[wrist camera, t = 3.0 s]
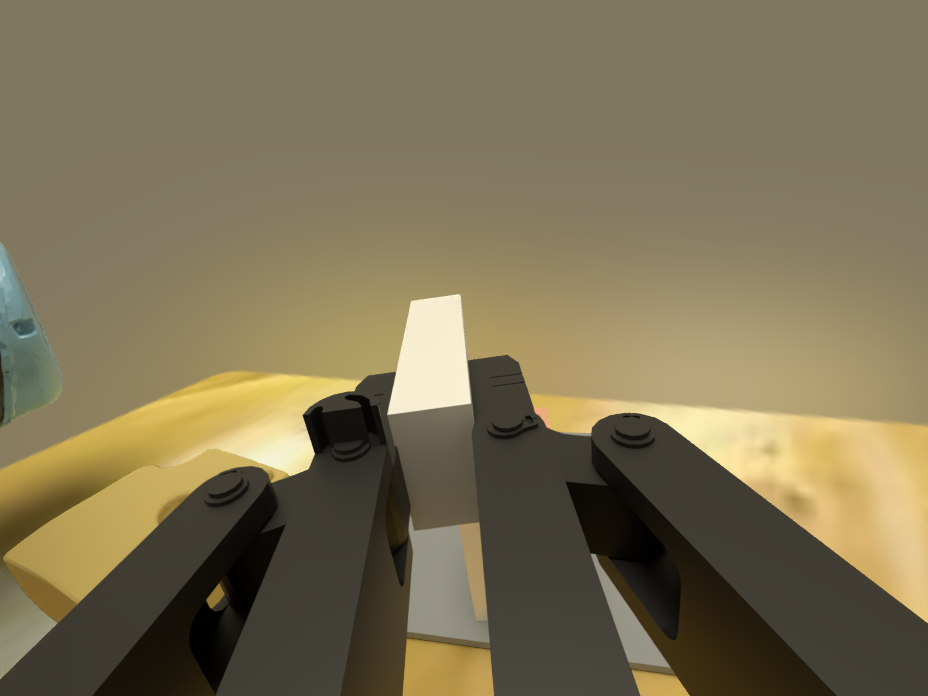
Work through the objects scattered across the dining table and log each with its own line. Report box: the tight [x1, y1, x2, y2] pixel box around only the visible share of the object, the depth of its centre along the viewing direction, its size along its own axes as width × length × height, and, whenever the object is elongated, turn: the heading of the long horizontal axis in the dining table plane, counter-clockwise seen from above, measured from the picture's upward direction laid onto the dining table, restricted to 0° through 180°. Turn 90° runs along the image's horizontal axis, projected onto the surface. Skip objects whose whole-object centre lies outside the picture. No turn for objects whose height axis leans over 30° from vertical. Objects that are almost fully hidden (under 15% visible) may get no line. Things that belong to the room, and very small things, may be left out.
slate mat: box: [407, 432, 675, 675], centre depth 34 cm, size 20×18×1 cm
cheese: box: [3, 449, 289, 623], centre depth 27 cm, size 10×11×10 cm
